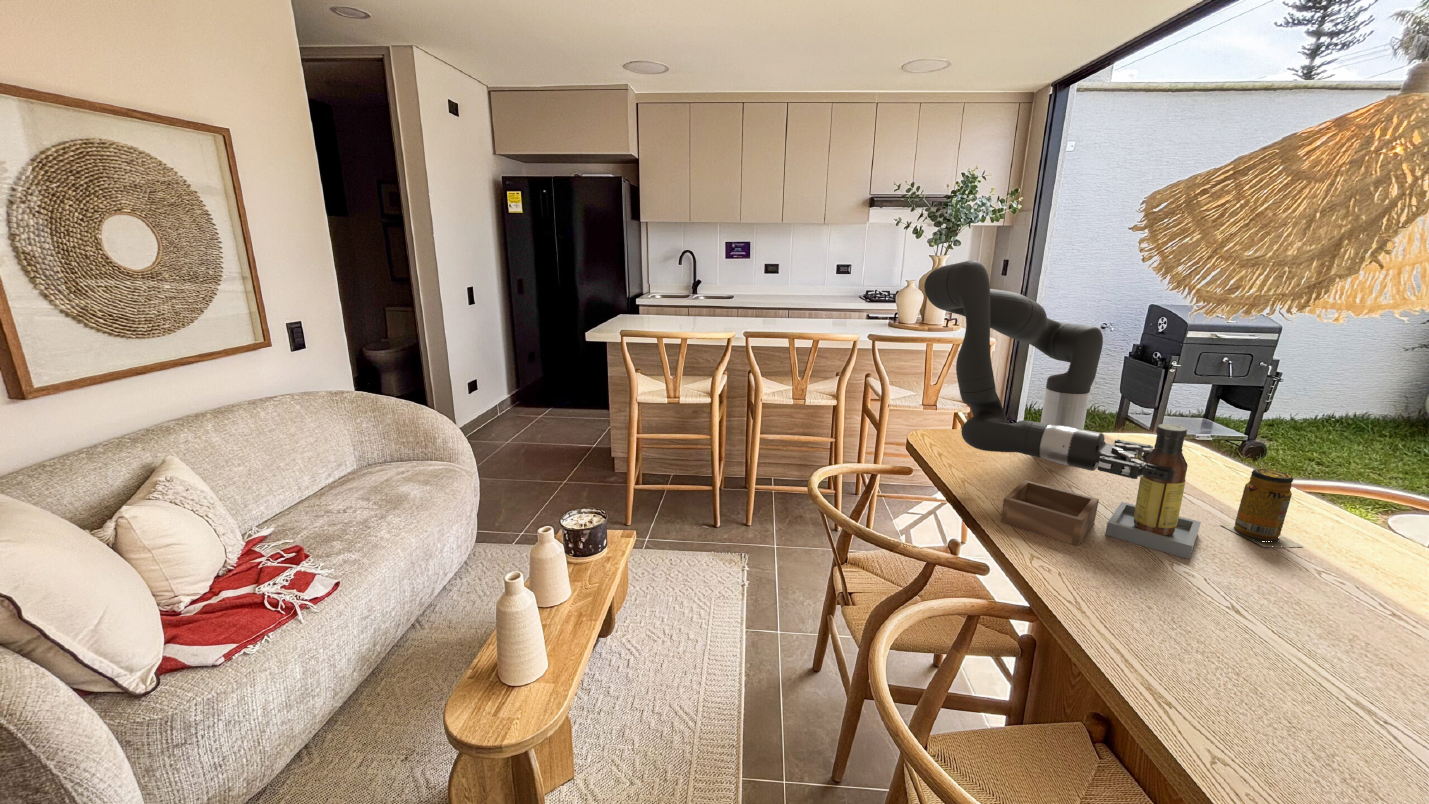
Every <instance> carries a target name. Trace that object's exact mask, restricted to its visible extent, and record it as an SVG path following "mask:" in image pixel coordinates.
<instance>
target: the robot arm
mask: <svg viewBox="0 0 1429 804" xmlns="http://www.w3.org/2000/svg"><path fill="white" fill-rule="evenodd" d="M923 285H924V292H925V296H926V298H927V300H928V301H929V302H930V304H931V305H933V306H934V307H936V308H937V309H939V310H942V311H945V312H948V313H953V314H956V315H959V316H962V317H965V332H964V337H963V340H962V343H961V346H960V349H959V351H958V355H957V357H956V363H955V371H956V372H955V373H956V378H957V379H956V380H957V385H958V391H959V396H960V399H961V401H962V402H963V404H966V405H968V406H969V407H970V410H971V413H972V414H971V415H972V416H971V417H970V418H968V420H966V421H965V422H964V424H963V425H962V427H961V431H960V432H961V437H962V439H963V441H964V442H965V443H966V444H967V445H968V446H970V447H972V448H974V449H977V450H980V451H985V452H995V453H996V452H998V453H1018V454H1023V455H1026V456H1031V457H1033V458H1034V457H1036V458H1039V459H1044V460H1047V461H1049V462H1052V463H1056V464H1060V465H1063V466H1064V465H1065V466H1068V467H1074V468H1078V469H1081V470H1087V471H1091V472H1094V471H1096V470H1097V471H1099V472H1102V473H1107V474H1112V475H1115V476H1120V477H1124V478H1128V479H1132V480H1137V479H1138V478H1141V477H1144V475H1145V476H1147V477H1151V478H1156V479H1160V480H1165V481H1172V479H1173V475H1174V469H1172V468H1168V467H1163V466H1158V465H1153V464H1149V463H1148V464H1147V466H1146V463H1145V462H1144V459H1145V457H1146V456H1148V455H1149V454H1150V453H1151V451H1152V450H1153V449H1154V445H1151V444H1146V443H1140V442H1134V441H1128V440H1123V439H1122V440H1121V439H1114V443H1106V442H1105V435H1104V434H1103V433H1102V432H1099V431H1094V430H1088V429H1085V422H1086V418H1087V417H1086V416H1087V412H1088V411H1087V410H1088V405H1089V400H1090V393H1091V388H1092V385H1093V383H1094V381H1095V379H1096V374H1097V371H1098V366H1099V362H1100V360H1101V359H1100V358H1101V353H1102V352H1103V350H1102V349H1103V344H1104V342H1103V341H1104V337H1103V333H1102V330H1101V329H1100V328H1098V327H1097V326H1094V325H1086V324H1085V325H1084V324H1079V323H1067V322H1059V321H1057V320H1054V319H1051V318H1049V317H1047V312H1046V310H1045V309H1044V307H1043V306H1042V304H1039V303H1038V302H1037V301H1036V300H1035V301H1034V300H1032V299H1031V298H1030V297H1029V298H1028V297H1027V296H1025V295H1023V294H1021V293H1019V292H1014V291H1009V290H1002V289H996V288H991V285H990V278H989V274H988V271H987V269H986V268H985V266H984V265H983V263H982V262H979V261H977V260H966V261H962V262H955V263H952V264H948V265H942V266H940V267H938V268H935V269H934V270H932V271H931V272H930V273H929V274H927V277H926V278H925V282H924V284H923ZM991 330H994V331H996V332H998V333H1000V334H1001V335H1004V336H1006V337H1007V338H1011V339H1013V340H1015V341H1018V342H1021V343H1025V344H1028V345H1030V346H1033V347H1034V348H1035V349H1037V350H1039V351H1040V352H1041V353H1043V354H1044V355H1046V356H1047V357H1049V358H1051V359H1054V360H1056V361H1059V362H1065V363H1069V366H1068V369H1067V371H1065V372H1064V373H1058V374H1052V375H1050V376H1048V377H1047V379H1046V385H1045V392H1044V398H1043V405H1042V411H1041V418H1040V422H1039V421H1038V422H1037V421H1032V420H1019V421H1017V422H1012V423H1010V422H1007V416H1006V413H1005V409H1004V407H1003V404H1002V403H1001V399H1000V398H999V395H998V394H997V389H996V383H995V376H994V371H993V370H994V369H993V365H992V357H991Z"/></svg>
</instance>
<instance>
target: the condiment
mask: <svg viewBox="0 0 1429 804" xmlns="http://www.w3.org/2000/svg"><path fill="white" fill-rule="evenodd" d="M1293 482H1294V478H1293V477H1292V476H1291V475H1290V474H1288V473H1286V472H1283V471H1280V470H1276V469H1270V468H1254V469H1253V470H1252V471H1251V474H1250V477H1249V481H1247V482H1246V483H1245V485H1244V487H1243V492H1242V497H1241V499H1240V503H1239V507H1238V509H1237V514H1236V517H1235V520H1234V523H1219V525H1220V526H1222V527H1223V528H1226V529H1227V530H1229V531H1231V532H1233V533H1235V534H1237V535H1239V536H1240V537H1244V538H1246V539H1247V540H1249V541H1251V542H1253V543H1255V544H1258V545H1259V546H1261V547H1263V548H1277V549H1278V548H1286V549H1288V548H1299V547H1300V548H1301V547H1303V548H1304V545H1301V544H1300V543H1298V542H1295V541H1293V539H1289V538H1287V537H1285V536H1283V535H1282V534H1281V532H1282V530H1283V529H1282V528H1283V526H1284V523H1285V519H1286V516H1287V512H1288V509H1289V506H1290V502H1291V499H1292V495H1293V493H1292V491H1291V489H1292V487H1293V485H1292V483H1293ZM1278 537H1279V538H1278ZM1279 540H1281V542H1280V541H1279ZM1262 541H1265V542H1262ZM1266 541H1267V542H1266ZM1268 541H1270V542H1268ZM1271 541H1272V542H1271ZM1278 541H1279V542H1278ZM1272 546H1273V547H1272ZM1281 546H1282V547H1281Z"/></svg>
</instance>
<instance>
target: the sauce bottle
mask: <svg viewBox="0 0 1429 804" xmlns="http://www.w3.org/2000/svg"><path fill="white" fill-rule="evenodd" d="M1187 432H1188V428H1186V427H1185V426H1183V425H1182V426H1181V425H1177V424H1172V423H1160V424H1158V425H1157V427H1156V439H1155V443H1154V445H1153V450H1152V451H1151V453H1150V454H1149V455H1148V456H1146V457H1145V459H1144V462H1145V463H1146V466H1147V464H1148V463H1149V464H1153V465H1158V466H1163V467H1168V468H1172V469H1174V475H1173V479H1172V481H1165V480H1160V479H1156V478H1151V477H1147V476H1145V475H1144V477H1139V483H1138V489H1137V496H1136V502H1135V503H1136V504H1135V505H1136V507H1135V513H1134V524H1135V526H1136V527H1137V528H1138V529H1141V530H1144V531H1148V532H1151V533H1155V534H1159V535H1162V536H1169V535H1173V533H1174V532H1175V527H1176V526H1177V522H1178V517H1179V516H1180V511H1181V507H1182V502H1183V501H1182V500H1183V496H1184V491H1185V486H1186V476H1187V471H1188V466H1189V465H1188V462H1187V461H1186V458H1185V457H1184V454H1183V446H1184V442H1185V438H1186V437H1187V434H1188V433H1187Z"/></svg>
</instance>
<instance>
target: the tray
mask: <svg viewBox="0 0 1429 804" xmlns="http://www.w3.org/2000/svg"><path fill="white" fill-rule="evenodd" d="M1135 507H1136V504H1133V503H1132V504H1131V503H1128V502H1124V501H1121V502H1119V505H1118V506H1117V508H1116V509H1115V511H1114V512H1113V514H1112V515H1111V517H1109V519H1108V521H1107V522H1106V528H1105V533H1104V534H1105V536H1108V537H1111V538H1114V539H1118V540H1122V541H1125V542H1129V543H1132V544H1136V545H1138V546H1142V547H1145V548H1149V549H1153V550H1156V551H1159V552H1163V553H1166V554H1169V555H1174V556H1176V557H1180V558H1183V559H1186V560H1190V558H1191V555H1192V553H1193V550H1194V546H1195V544H1196V540H1197V538H1198V535H1199V530H1200V527H1201V522H1202V521H1200V520H1195V519H1191V518H1188V517H1184V516H1180V515H1179V517H1178V522H1177V526H1176V527H1175V532H1174V533H1173V535H1169V536H1162V535H1159V534H1155V533H1151V532H1148V531H1144V530H1141V529H1138V528H1137V527H1136V526H1135V524H1134V513H1135Z"/></svg>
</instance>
